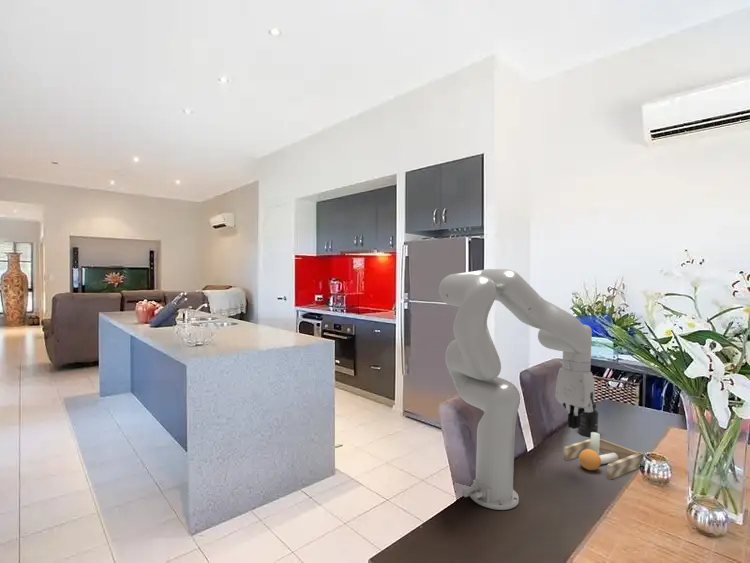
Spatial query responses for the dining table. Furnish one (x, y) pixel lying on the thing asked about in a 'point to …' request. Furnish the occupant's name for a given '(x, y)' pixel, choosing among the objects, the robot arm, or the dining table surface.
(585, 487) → the dining table surface
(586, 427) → the supplement bottle
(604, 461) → the front pin
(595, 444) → the back pin
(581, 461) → the ball
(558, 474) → the dining table surface
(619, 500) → the dining table surface
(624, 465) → the u-shaped wooden frame
